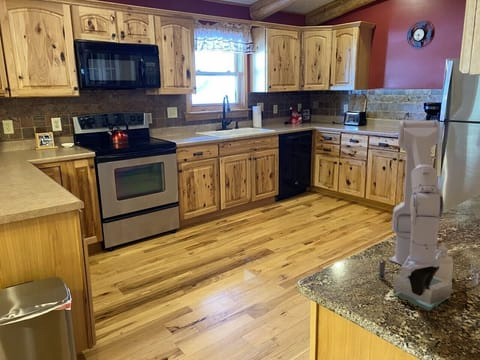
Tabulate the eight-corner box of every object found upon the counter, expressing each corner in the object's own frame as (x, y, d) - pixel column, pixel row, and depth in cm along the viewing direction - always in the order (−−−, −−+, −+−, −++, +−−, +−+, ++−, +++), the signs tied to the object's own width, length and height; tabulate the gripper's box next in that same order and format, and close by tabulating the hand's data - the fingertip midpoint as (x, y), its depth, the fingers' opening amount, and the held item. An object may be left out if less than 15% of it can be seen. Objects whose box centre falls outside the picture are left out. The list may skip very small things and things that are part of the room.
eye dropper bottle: (448, 290, 100) (452, 248, 97) (425, 283, 103) (429, 243, 101) (453, 283, 103) (457, 243, 100) (431, 277, 106) (434, 238, 104)
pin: (380, 275, 109) (381, 259, 107) (386, 278, 107) (387, 261, 106) (377, 277, 108) (377, 261, 106) (382, 280, 106) (383, 263, 105)
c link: (413, 281, 104) (415, 269, 103) (450, 295, 96) (452, 282, 95) (392, 289, 98) (394, 276, 98) (430, 305, 90) (432, 291, 90)
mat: (415, 283, 104) (415, 281, 104) (448, 297, 97) (449, 295, 96) (395, 295, 98) (395, 293, 98) (429, 310, 91) (429, 308, 91)
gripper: (423, 255, 83) (419, 309, 86) (455, 238, 91) (450, 288, 94) (394, 245, 88) (391, 297, 92) (427, 230, 96) (423, 278, 100)
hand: (419, 292), depth 93 cm, fingers closed on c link, 2 cm apart
